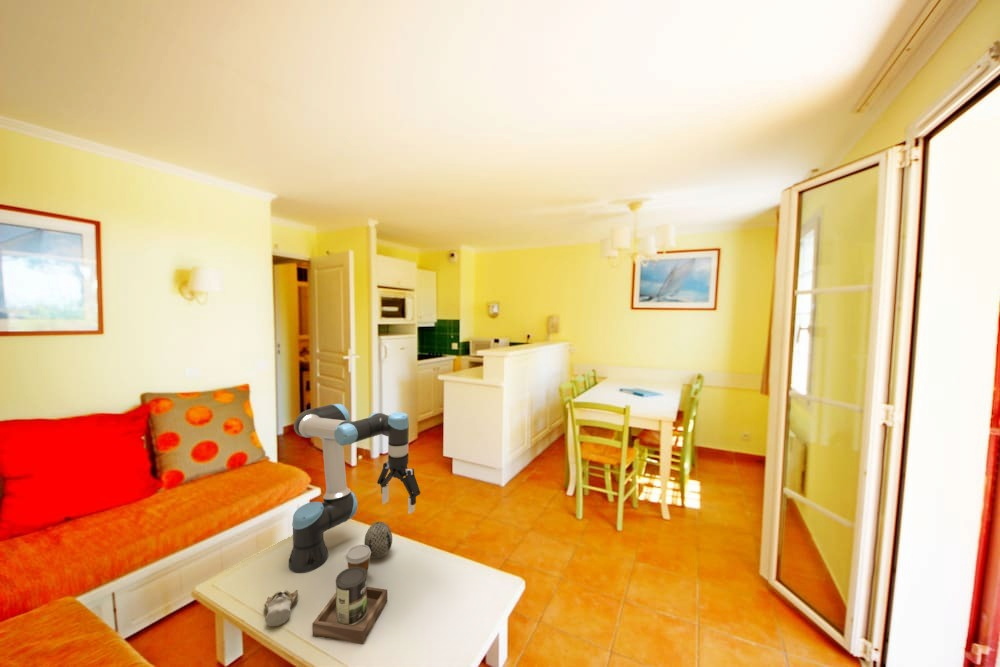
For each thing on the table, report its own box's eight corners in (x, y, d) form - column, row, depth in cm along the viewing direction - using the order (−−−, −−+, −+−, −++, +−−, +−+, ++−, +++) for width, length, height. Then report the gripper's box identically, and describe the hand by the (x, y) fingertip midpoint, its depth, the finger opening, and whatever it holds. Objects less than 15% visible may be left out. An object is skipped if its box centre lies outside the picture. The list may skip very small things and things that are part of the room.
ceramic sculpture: (258, 610, 121) (266, 582, 134) (258, 636, 121) (266, 605, 135) (295, 601, 125) (299, 574, 139) (295, 626, 125) (298, 597, 139)
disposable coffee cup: (362, 590, 142) (362, 561, 141) (340, 586, 143) (340, 557, 143) (375, 573, 151) (375, 545, 150) (355, 569, 153) (355, 542, 152)
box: (342, 594, 139) (342, 583, 139) (387, 600, 137) (387, 589, 137) (312, 636, 122) (312, 623, 121) (363, 644, 119) (363, 631, 119)
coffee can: (369, 601, 135) (369, 565, 134) (363, 625, 125) (363, 586, 124) (340, 604, 134) (340, 567, 133) (331, 628, 124) (331, 588, 123)
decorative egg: (382, 567, 155) (382, 533, 154) (358, 561, 158) (358, 528, 157) (397, 550, 166) (397, 518, 165) (375, 544, 169) (375, 513, 168)
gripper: (430, 457, 138) (429, 511, 139) (382, 444, 150) (382, 494, 151) (416, 464, 131) (416, 521, 132) (367, 450, 143) (367, 502, 144)
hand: (398, 507), depth 142 cm, fingers open, 13 cm apart
